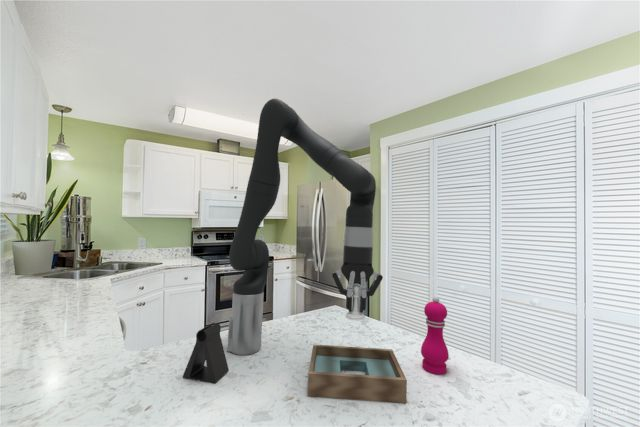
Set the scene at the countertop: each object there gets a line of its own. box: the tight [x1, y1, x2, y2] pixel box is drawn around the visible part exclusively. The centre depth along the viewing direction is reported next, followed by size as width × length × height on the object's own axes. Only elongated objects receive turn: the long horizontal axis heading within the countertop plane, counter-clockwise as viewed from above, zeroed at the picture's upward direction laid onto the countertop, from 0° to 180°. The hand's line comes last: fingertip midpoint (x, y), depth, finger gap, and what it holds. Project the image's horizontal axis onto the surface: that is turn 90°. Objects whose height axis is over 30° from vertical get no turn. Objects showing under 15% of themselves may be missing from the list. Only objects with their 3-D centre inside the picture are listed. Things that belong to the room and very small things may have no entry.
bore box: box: [306, 344, 408, 404], centre depth 72 cm, size 22×16×5 cm
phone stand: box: [182, 322, 230, 384], centre depth 72 cm, size 9×6×12 cm, turn 78°
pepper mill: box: [420, 295, 450, 375], centre depth 80 cm, size 7×7×20 cm
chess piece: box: [345, 283, 366, 322], centre depth 74 cm, size 5×5×10 cm
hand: (355, 311), depth 74 cm, fingers closed on chess piece, 2 cm apart
